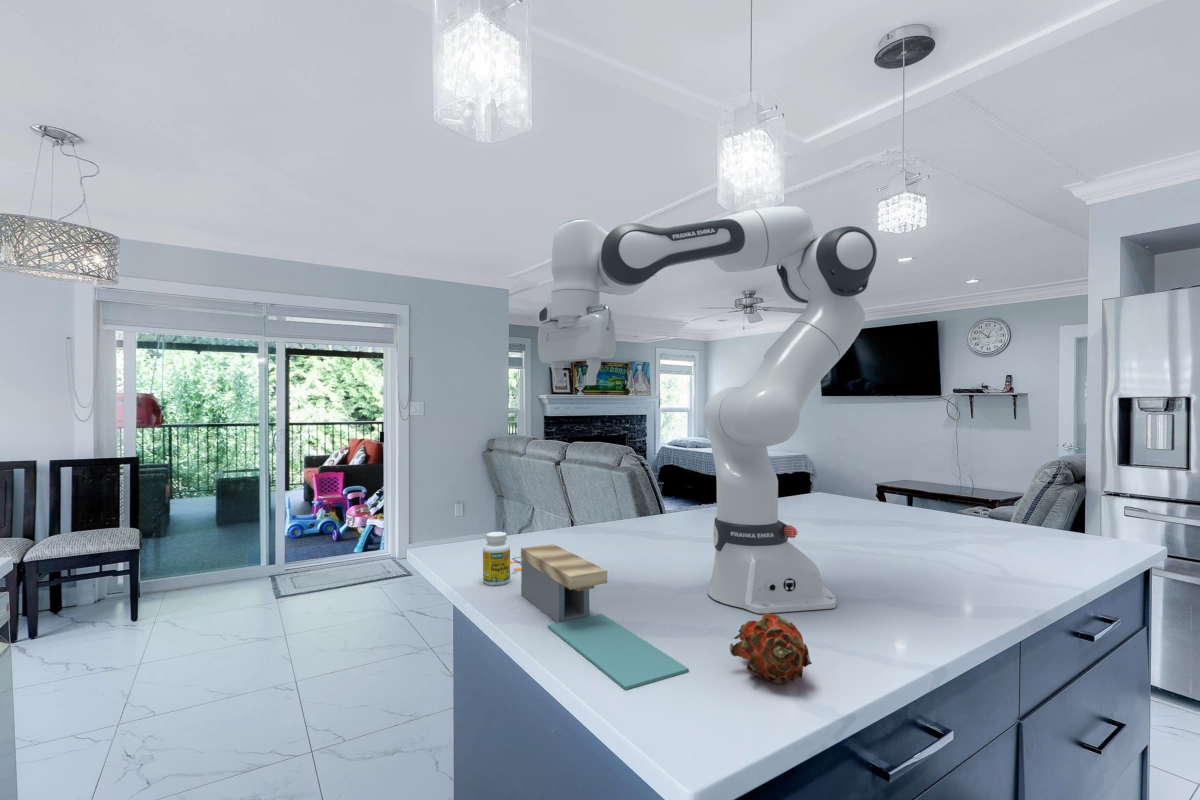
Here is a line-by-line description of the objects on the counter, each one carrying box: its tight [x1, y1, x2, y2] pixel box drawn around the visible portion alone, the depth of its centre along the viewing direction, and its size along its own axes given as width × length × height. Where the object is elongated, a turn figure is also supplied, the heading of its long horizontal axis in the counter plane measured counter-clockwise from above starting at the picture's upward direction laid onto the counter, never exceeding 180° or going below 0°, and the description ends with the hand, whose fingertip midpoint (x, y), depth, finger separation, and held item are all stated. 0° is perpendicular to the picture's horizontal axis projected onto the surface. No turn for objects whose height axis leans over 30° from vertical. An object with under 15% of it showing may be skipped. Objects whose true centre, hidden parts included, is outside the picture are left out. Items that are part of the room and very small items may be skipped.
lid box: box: [520, 558, 590, 623], centre depth 101 cm, size 16×6×7 cm, turn 30°
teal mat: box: [547, 613, 690, 691], centre depth 84 cm, size 23×10×1 cm, turn 30°
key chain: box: [510, 556, 521, 576], centre depth 127 cm, size 13×7×1 cm, turn 20°
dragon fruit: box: [729, 613, 813, 685], centre depth 76 cm, size 8×8×12 cm
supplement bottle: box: [482, 531, 511, 586], centre depth 115 cm, size 5×5×10 cm
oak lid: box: [520, 543, 608, 591], centre depth 99 cm, size 20×7×3 cm, turn 30°
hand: (574, 385), depth 105 cm, fingers open, 8 cm apart
